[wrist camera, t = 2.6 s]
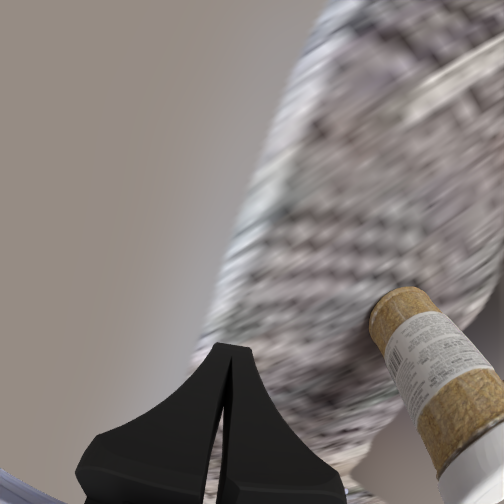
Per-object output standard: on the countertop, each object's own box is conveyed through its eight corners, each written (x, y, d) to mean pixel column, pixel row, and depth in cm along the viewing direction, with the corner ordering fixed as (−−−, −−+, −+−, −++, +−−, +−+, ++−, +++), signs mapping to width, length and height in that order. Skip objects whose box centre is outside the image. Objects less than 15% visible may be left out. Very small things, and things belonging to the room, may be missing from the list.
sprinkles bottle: (418, 345, 19) (509, 501, 6) (358, 346, 19) (428, 535, 6) (437, 284, 17) (573, 429, 5) (375, 280, 18) (500, 468, 5)
